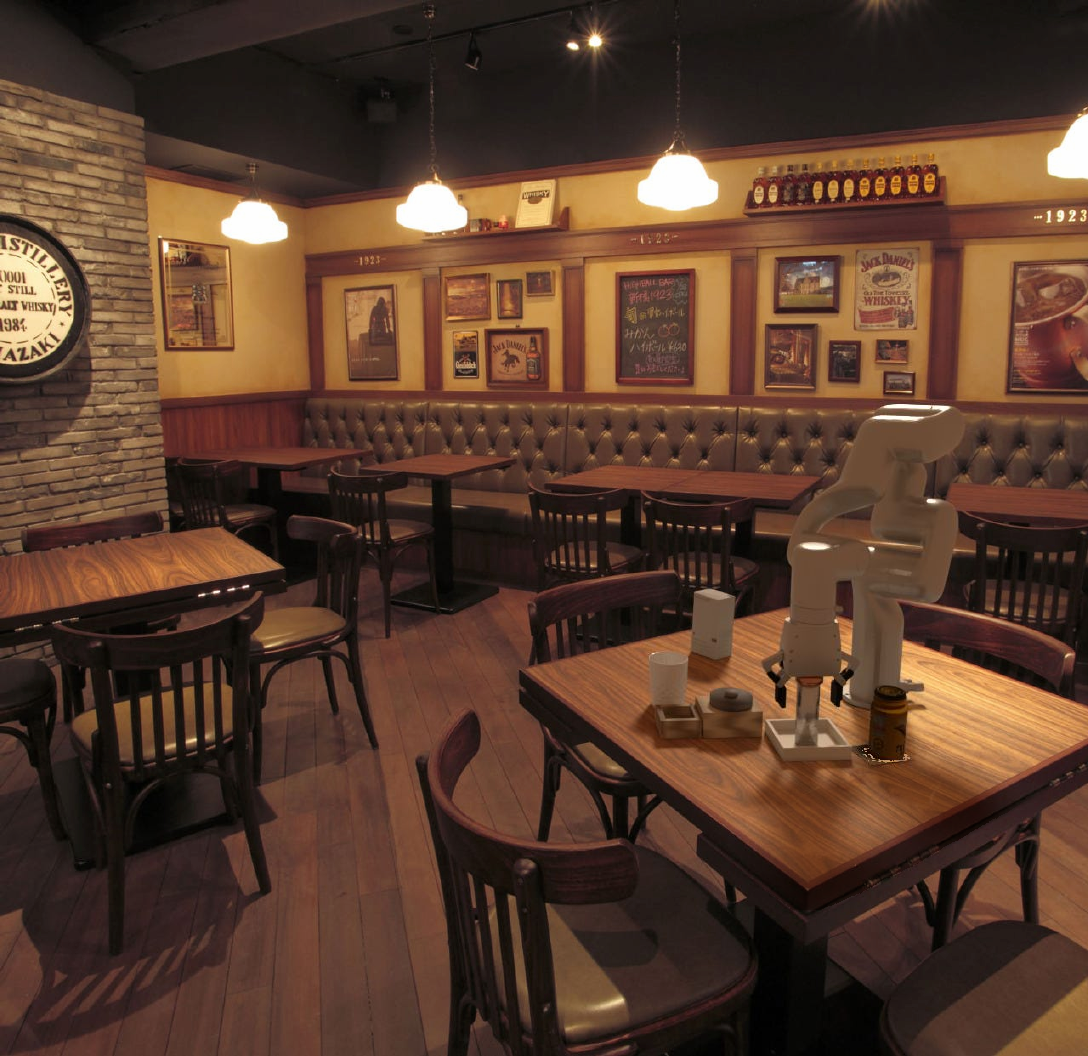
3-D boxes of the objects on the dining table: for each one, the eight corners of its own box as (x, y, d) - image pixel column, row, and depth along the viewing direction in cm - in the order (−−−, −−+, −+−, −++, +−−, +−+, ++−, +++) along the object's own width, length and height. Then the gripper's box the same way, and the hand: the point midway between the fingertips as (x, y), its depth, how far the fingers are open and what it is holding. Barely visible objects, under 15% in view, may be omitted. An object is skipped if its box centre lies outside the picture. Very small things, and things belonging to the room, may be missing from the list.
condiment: (915, 760, 151) (920, 695, 148) (871, 766, 149) (875, 700, 147) (889, 742, 158) (894, 680, 155) (848, 748, 156) (851, 685, 154)
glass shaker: (815, 737, 159) (818, 670, 156) (823, 749, 154) (827, 680, 152) (789, 737, 159) (791, 670, 156) (796, 749, 154) (799, 680, 152)
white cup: (686, 713, 172) (687, 665, 170) (646, 711, 173) (647, 663, 171) (688, 698, 179) (689, 652, 177) (650, 695, 181) (650, 650, 179)
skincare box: (690, 651, 207) (691, 591, 204) (707, 646, 210) (708, 587, 207) (716, 661, 200) (718, 599, 197) (734, 655, 204) (736, 594, 201)
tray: (828, 730, 163) (828, 717, 163) (851, 759, 151) (852, 746, 151) (764, 731, 163) (765, 719, 162) (782, 761, 151) (783, 748, 151)
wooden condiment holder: (751, 718, 169) (752, 682, 167) (762, 736, 161) (763, 699, 160) (654, 721, 169) (655, 685, 167) (661, 739, 161) (661, 701, 159)
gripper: (853, 606, 156) (848, 695, 159) (757, 608, 156) (754, 697, 159) (869, 618, 149) (864, 712, 152) (769, 621, 148) (765, 714, 152)
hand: (808, 704), depth 156 cm, fingers open, 9 cm apart
